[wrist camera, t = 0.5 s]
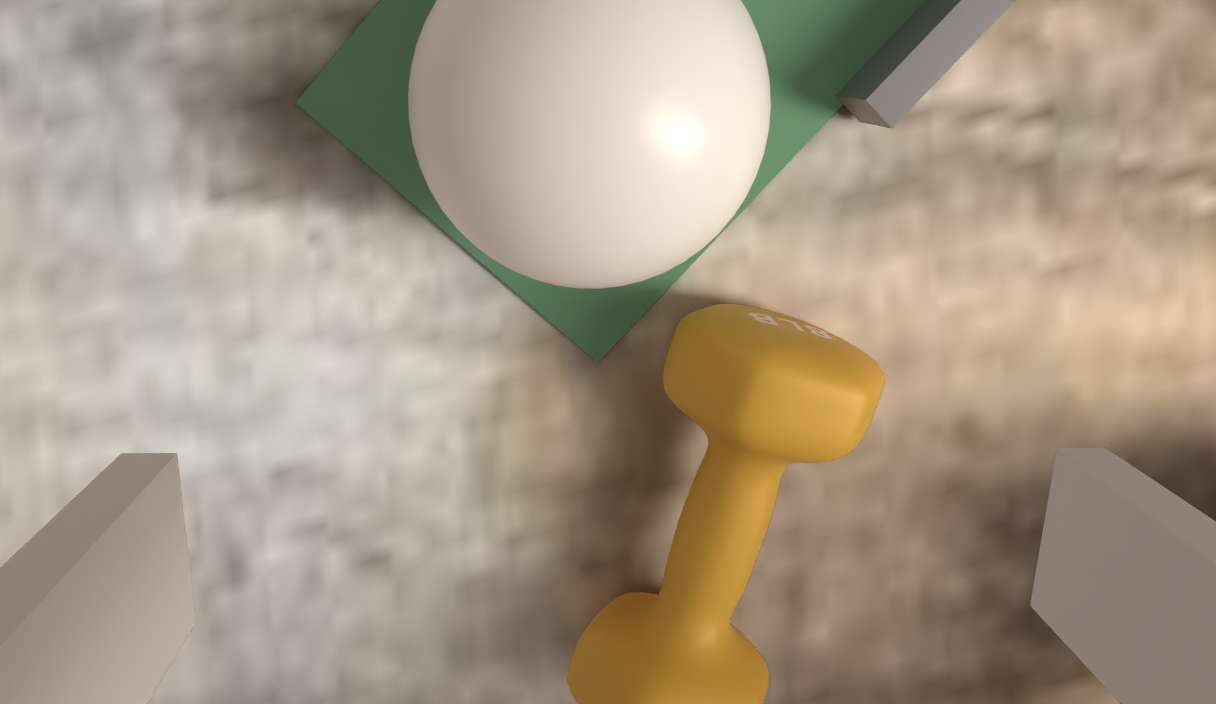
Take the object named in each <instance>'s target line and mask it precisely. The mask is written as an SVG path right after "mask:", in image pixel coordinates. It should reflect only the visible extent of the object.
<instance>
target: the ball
mask: <svg viewBox="0 0 1216 704" xmlns="http://www.w3.org/2000/svg"><path fill="white" fill-rule="evenodd" d="M408 107H409V123H410V129H411V136H412V142H413V146H414V149H415V153H416V156H417V160H418V163H419V166H420V169H421V171H422V173H423V176H424V178H425V180H426V183H427V185H428V187H429V189H430V191H431V193H432V194H433V196H434V198H435V199H436V201H437V203H438V204H439V206H440V208H441V209H442V211H443V212H444V213H445V214H446V216H447V217H448V218H449V219H450V221H451V222H452V223H453V225H454V226H455V227H456V228H457V229H458V230H459V231H460V232H461V233H462V234H463V235H464V236H465V237H466V238H467V239H468V240H469V241H470V242H471V243H472V244H473V245H474V246H476V247H477V248H478V249H480V250H481V251H482V252H484V253H485V254H486V255H488V256H489V257H490V258H492V259H493V260H495V261H497V262H499V263H500V264H502V265H504V266H506V267H507V268H509V269H511V270H513V271H515V272H517V273H520V274H522V275H525V276H527V277H529V278H532V279H534V280H538V281H542V282H545V283H549V284H553V285H557V286H564V287H571V288H590V289H601V288H609V287H618V286H624V285H628V284H632V283H636V282H640V281H644V280H647V279H649V278H652V277H654V276H657V275H659V274H662V273H664V272H666V271H668V270H670V269H672V268H674V267H676V266H677V265H679V264H681V263H683V262H685V261H686V260H687V259H689V258H690V257H692V256H693V255H694V254H696V253H697V252H698V251H700V250H701V249H703V248H704V247H705V246H706V245H707V244H708V243H709V242H710V241H711V240H712V239H713V238H714V237H716V236H717V235H718V234H719V233H720V232H721V230H722V229H723V228H724V227H725V226H726V224H727V223H728V222H729V221H730V220H731V218H732V217H733V216H734V215H735V213H736V212H737V210H738V208H739V207H740V205H741V204H742V202H743V201H744V199H745V198H746V196H747V194H748V192H749V190H750V188H751V186H752V184H753V182H754V180H755V178H756V175H757V173H758V170H759V167H760V164H761V161H762V158H763V155H764V151H765V147H766V142H767V137H768V132H769V123H770V111H771V98H770V80H769V74H768V68H767V63H766V57H765V54H764V51H763V48H762V44H761V41H760V38H759V35H758V32H757V30H756V28H755V26H754V24H753V21H752V19H751V17H750V15H749V12H748V11H747V9H746V8H745V6H744V4H743V3H742V1H741V0H436V2H435V4H434V6H433V8H432V10H431V11H430V13H429V15H428V17H427V19H426V21H425V23H424V26H423V28H422V31H421V34H420V36H419V39H418V42H417V44H416V48H415V53H414V57H413V61H412V65H411V70H410V80H409V90H408Z"/></svg>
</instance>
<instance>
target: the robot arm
mask: <svg viewBox="0 0 1216 704" xmlns="http://www.w3.org/2000/svg"><path fill="white" fill-rule="evenodd" d="M1030 606H1031V607H1032V608H1033V609H1034V610H1035V611H1036V613H1037V614H1038V615H1039V616H1040V617H1041V618H1042V619H1043V620H1044V621H1045V622H1046V623H1047V624H1048V626H1049V627H1050V628H1051V629H1052V630H1053V631H1054V632H1055V633H1056V634H1057V635H1058V636H1059V637H1060V639H1061V640H1062V641H1063V642H1064V643H1065V644H1066V645H1067V646H1068V647H1069V648H1070V649H1071V650H1072V652H1073V653H1074V654H1075V655H1076V656H1077V657H1078V658H1079V659H1080V660H1081V661H1082V662H1083V663H1084V665H1085V666H1086V667H1087V668H1088V669H1089V670H1090V671H1091V672H1092V673H1093V674H1094V675H1095V676H1096V678H1097V679H1098V680H1099V681H1100V682H1101V683H1102V684H1103V685H1104V686H1105V687H1106V688H1107V689H1108V691H1109V692H1110V693H1111V694H1112V695H1113V696H1114V697H1115V698H1116V699H1117V700H1118V701H1119V702H1120V704H1216V521H1214V520H1213V519H1211V518H1210V517H1208V516H1207V515H1205V514H1204V513H1202V512H1201V511H1199V510H1198V509H1196V508H1195V507H1193V506H1192V505H1190V504H1189V503H1187V502H1186V501H1184V500H1183V499H1181V498H1180V497H1178V496H1177V495H1175V494H1174V493H1172V492H1171V491H1169V490H1168V489H1166V488H1165V487H1163V486H1162V485H1160V484H1159V483H1157V482H1156V481H1154V480H1153V479H1151V478H1150V477H1148V476H1147V475H1145V474H1144V473H1142V472H1141V471H1139V470H1138V469H1136V468H1135V467H1133V466H1132V465H1130V464H1129V463H1127V462H1126V461H1124V460H1123V459H1121V458H1120V457H1118V456H1117V455H1115V454H1114V453H1112V452H1111V451H1109V450H1108V449H1106V448H1105V447H1078V448H1057V451H1056V457H1055V463H1054V469H1053V474H1052V480H1051V486H1050V492H1049V498H1048V504H1047V509H1046V515H1045V521H1044V527H1043V533H1042V539H1041V544H1040V550H1039V556H1038V562H1037V568H1036V573H1035V579H1034V585H1033V591H1032V597H1031V603H1030ZM195 623H196V618H195V609H194V600H193V592H192V583H191V574H190V565H189V556H188V547H187V538H186V529H185V521H184V512H183V503H182V494H181V485H180V476H179V467H178V458H177V453H145V454H120V455H119V456H118V457H117V458H116V459H115V460H114V461H113V462H112V463H111V464H110V465H109V466H108V467H107V468H106V469H105V470H104V471H102V472H101V473H100V474H99V475H98V476H97V477H96V478H95V479H94V480H93V481H92V482H91V483H90V484H89V485H88V486H87V487H85V488H84V489H83V490H82V491H81V492H80V493H79V494H78V495H77V496H76V497H75V498H74V499H73V500H72V501H71V502H70V503H69V504H67V505H66V506H65V507H64V508H63V509H62V510H61V511H60V512H59V513H58V514H57V515H56V516H55V517H54V518H53V519H52V520H51V521H49V522H48V523H47V524H46V525H45V526H44V527H43V528H42V529H41V530H40V531H39V532H38V533H37V534H36V535H35V536H34V537H33V538H31V539H30V540H29V541H28V542H27V543H26V544H25V545H24V546H23V547H22V548H21V549H20V550H19V551H18V552H17V553H16V554H15V555H13V556H12V557H11V558H10V559H9V560H8V561H7V562H6V563H5V564H4V565H3V566H2V567H1V568H0V704H147V703H148V701H149V699H150V698H151V696H152V694H153V693H154V691H155V689H156V688H157V686H158V684H159V683H160V681H161V679H162V678H163V676H164V674H165V673H166V671H167V669H168V668H169V666H170V665H171V663H172V661H173V660H174V658H175V656H176V655H177V653H178V651H179V650H180V648H181V646H182V645H183V643H184V641H185V640H186V638H187V636H188V635H189V633H190V631H191V630H192V628H193V626H194V625H195Z"/></svg>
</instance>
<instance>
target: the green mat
mask: <svg viewBox="0 0 1216 704" xmlns="http://www.w3.org/2000/svg"><path fill="white" fill-rule="evenodd" d="M741 1H742V3H743V4H744V6H745V8H746V9H747V11H748V12H749V15H750V17H751V19H752V21H753V24H754V26H755V28H756V30H757V32H758V35H759V38H760V41H761V44H762V48H763V51H764V54H765V57H766V63H767V68H768V74H769V80H770V98H771V111H770V123H769V132H768V137H767V142H766V147H765V151H764V155H763V158H762V161H761V164H760V167H759V170H758V173H757V175H756V178H755V180H754V182H753V184H752V186H751V188H750V190H749V192H748V194H747V196H746V198H745V199H744V201H743V202H742V204H741V205H740V207H739V208H738V210H737V212H736V213H735V215H734V216H733V217H732V218H731V220H730V221H729V222H728V223H727V224H726V226H725V227H724V228H723V229H722V230H721V232H720V233H719V234H718V235H717V236H716V237H714V238H713V239H712V240H711V241H710V242H709V243H708V244H707V245H706V246H705V247H704V248H703V249H701V250H700V251H698V252H697V253H696V254H694V255H693V256H692V257H690V258H689V259H687V260H686V261H685V262H683V263H681V264H679V265H677V266H676V267H674V268H672V269H670V270H668V271H666V272H664V273H662V274H659V275H657V276H654V277H652V278H649V279H647V280H644V281H640V282H636V283H632V284H628V285H624V286H618V287H609V288H601V289H590V288H571V287H564V286H557V285H553V284H549V283H545V282H542V281H538V280H534V279H532V278H529V277H527V276H525V275H522V274H520V273H517V272H515V271H513V270H511V269H509V268H507V267H506V266H504V265H502V264H500V263H499V262H497V261H495V260H493V259H492V258H490V257H489V256H488V255H486V254H485V253H484V252H482V251H481V250H480V249H478V248H477V247H476V246H474V245H473V244H472V243H471V242H470V241H469V240H468V239H467V238H466V237H465V236H464V235H463V234H462V233H461V232H460V231H459V230H458V229H457V228H456V227H455V226H454V225H453V223H452V222H451V221H450V219H449V218H448V217H447V216H446V214H445V213H444V212H443V211H442V209H441V208H440V206H439V204H438V203H437V201H436V199H435V198H434V196H433V194H432V193H431V191H430V189H429V187H428V185H427V183H426V180H425V178H424V176H423V173H422V171H421V169H420V166H419V163H418V160H417V156H416V153H415V149H414V146H413V142H412V136H411V129H410V123H409V107H408V90H409V80H410V70H411V65H412V61H413V57H414V53H415V48H416V44H417V42H418V39H419V36H420V34H421V31H422V28H423V26H424V23H425V21H426V19H427V17H428V15H429V13H430V11H431V10H432V8H433V6H434V4H435V2H436V0H380V1H379V2H378V4H377V5H376V6H375V7H374V9H373V10H372V11H371V12H370V13H369V15H368V16H367V17H366V18H365V19H364V21H363V22H362V23H361V24H360V25H359V27H358V28H357V29H356V30H355V31H354V33H353V34H352V35H351V36H350V37H349V39H348V40H347V41H346V42H345V43H344V45H343V46H342V47H341V48H340V49H339V51H338V52H337V53H336V54H335V55H334V57H333V58H332V59H331V60H330V61H329V63H328V64H327V65H326V66H325V68H324V69H323V70H322V71H321V72H320V74H319V75H318V76H317V77H316V78H315V80H314V81H313V82H312V83H311V84H310V86H309V87H308V88H307V89H306V90H305V92H304V93H303V94H302V95H301V96H300V98H299V99H298V100H297V101H296V102H295V103H296V104H297V105H298V106H300V107H301V108H302V109H303V110H304V111H305V112H307V113H308V114H309V115H310V116H311V117H312V118H313V119H315V120H316V121H317V122H318V123H319V124H320V125H322V126H323V127H324V128H325V129H326V130H327V131H329V132H330V133H331V134H332V135H333V136H334V137H336V138H337V139H338V140H339V141H340V142H341V143H343V144H344V145H345V146H346V147H347V148H348V149H349V150H351V151H352V152H353V153H354V154H355V155H356V156H358V157H359V158H360V159H361V160H362V161H363V162H365V163H366V164H367V165H368V166H369V167H370V168H372V169H373V170H374V171H375V172H376V173H377V174H379V175H380V176H381V177H382V178H383V179H384V180H385V181H387V182H388V183H389V184H390V185H391V186H392V187H394V188H395V189H396V190H397V191H398V192H399V193H401V194H402V195H403V196H404V197H405V198H406V199H408V200H409V201H410V202H411V203H412V204H413V205H415V206H416V207H417V208H418V209H419V210H420V211H421V212H423V213H424V214H425V215H426V216H427V217H428V218H430V219H431V220H432V221H433V222H434V223H435V224H437V225H438V226H439V227H440V228H441V229H442V230H444V231H445V232H446V233H447V234H448V235H449V236H451V237H452V238H453V239H454V240H455V241H456V242H457V243H459V244H460V245H461V246H462V247H463V248H464V249H466V250H467V251H468V252H469V253H470V254H471V255H473V256H474V257H475V258H476V259H477V260H478V261H480V262H481V263H482V264H483V265H484V266H485V267H487V268H488V269H489V270H490V271H491V272H492V273H493V274H495V275H496V276H497V277H498V278H499V279H500V280H502V281H503V282H504V283H505V284H506V285H507V286H509V287H510V288H511V289H512V290H513V291H514V292H516V293H517V294H518V295H519V296H520V297H521V298H523V299H524V300H525V301H526V302H527V303H528V304H529V305H531V306H532V307H533V308H534V309H535V310H536V311H538V312H539V313H540V314H541V315H542V316H543V317H545V318H546V319H547V320H548V321H549V322H550V323H552V324H553V325H554V326H555V327H556V328H557V329H559V330H560V331H561V332H562V333H563V334H564V335H565V336H567V337H568V338H569V339H570V340H571V341H572V342H574V343H575V344H576V345H577V346H578V347H579V348H581V349H582V350H583V351H584V352H585V353H586V354H588V355H589V356H590V357H591V358H592V359H593V360H595V361H596V362H597V363H598V362H599V361H600V360H601V359H602V358H603V357H604V356H605V355H606V354H607V353H608V352H609V350H610V349H611V348H612V347H613V346H614V345H615V344H616V343H617V342H618V341H619V340H620V339H621V338H622V337H623V336H624V335H625V334H626V333H627V332H628V331H629V329H630V328H631V327H632V326H633V325H634V324H635V323H636V322H637V321H638V320H639V319H640V318H641V317H642V316H643V315H644V314H645V313H646V312H647V311H648V310H649V308H650V307H651V306H652V305H653V304H654V303H655V302H656V301H657V300H658V299H659V298H660V297H661V296H662V295H663V294H664V293H665V292H666V291H667V290H668V289H669V287H670V286H671V285H672V284H673V283H674V282H675V281H676V280H677V279H678V278H679V277H680V276H681V275H682V274H683V273H684V272H685V271H686V270H687V269H688V267H689V266H690V265H691V264H692V263H693V262H694V261H695V260H696V259H697V258H698V257H699V256H700V255H701V254H702V253H703V252H704V251H705V250H706V249H707V248H708V246H709V245H710V244H711V243H712V242H713V241H714V240H715V239H716V238H717V237H718V236H719V235H720V234H721V233H722V232H723V231H724V230H725V229H726V228H727V227H728V225H729V224H730V223H731V222H732V221H733V220H734V219H735V218H736V217H737V216H738V215H739V214H740V213H741V212H742V211H743V210H744V209H745V208H746V207H747V206H748V204H749V203H750V202H751V201H752V200H753V199H754V198H755V197H756V196H757V195H758V194H759V193H760V192H761V191H762V190H763V189H764V188H765V187H766V186H767V185H768V183H769V182H770V181H771V180H772V179H773V178H774V177H775V176H776V175H777V174H778V173H779V172H780V171H781V170H782V169H783V168H784V167H785V166H786V165H787V163H788V162H789V161H790V160H791V159H792V158H793V157H794V156H795V155H796V154H797V153H798V152H799V151H800V150H801V149H802V148H803V147H804V146H805V145H806V144H807V142H808V141H809V140H810V139H811V138H812V137H813V136H814V135H815V134H816V133H817V132H818V131H819V130H820V129H821V128H822V127H823V126H824V125H825V124H826V123H827V121H828V120H829V119H830V118H831V117H832V116H833V115H834V114H835V113H836V112H837V111H838V110H839V109H840V108H841V107H842V106H843V103H842V102H841V101H840V100H839V99H838V98H837V97H836V95H837V94H838V93H839V92H840V91H841V90H842V88H843V87H844V86H845V85H846V84H847V83H848V82H849V81H850V80H851V79H852V78H853V77H854V76H855V75H856V74H857V73H858V72H859V71H860V70H861V68H862V67H863V66H864V65H865V64H866V63H867V62H868V61H869V60H870V59H871V58H872V57H873V56H874V55H875V54H876V53H877V52H878V51H879V49H880V48H881V47H882V46H883V45H884V44H885V43H886V42H887V41H888V40H889V39H890V38H891V37H892V36H893V35H894V34H895V33H896V32H897V30H898V29H899V28H900V27H901V26H902V25H903V24H904V23H905V22H906V21H907V20H908V19H909V18H910V17H911V16H912V15H913V14H914V13H915V12H916V10H917V9H918V8H919V7H920V6H921V5H922V4H923V3H924V2H925V1H926V0H741Z"/></svg>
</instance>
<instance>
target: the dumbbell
mask: <svg viewBox="0 0 1216 704" xmlns="http://www.w3.org/2000/svg"><path fill="white" fill-rule="evenodd" d="M663 384H664V389H665V391H666V394H667V396H668V397H669V398H670V399H671V401H672V402H673V403H674V404H675V405H676V406H677V407H678V408H679V409H680V410H681V411H683V412H684V413H685V414H686V415H687V416H689V417H690V418H691V419H692V420H693V421H695V422H696V423H697V424H698V425H699V426H700V427H701V428H702V429H703V430H704V431H705V433H706V435H707V437H708V441H709V444H708V449H707V452H706V454H705V457H704V459H703V461H702V463H701V465H700V467H699V469H698V471H697V474H696V476H695V478H694V481H693V483H692V486H691V489H690V491H689V494H688V497H687V499H686V502H685V505H684V507H683V510H682V513H681V516H680V519H679V521H678V525H677V528H676V531H675V534H674V538H673V541H672V545H671V548H670V552H669V555H668V559H667V563H666V567H665V572H664V577H663V582H662V586H661V590H660V593H659V595H658V594H652V593H645V592H629V593H625V594H623V595H621V596H619V597H617V598H615V599H614V600H613V601H611V602H610V603H609V604H608V605H607V606H605V607H604V608H603V609H602V610H601V611H600V612H599V613H598V614H597V615H596V616H595V617H594V619H593V620H592V621H591V622H590V623H589V625H588V626H587V627H586V628H585V630H584V631H583V633H582V635H581V637H580V638H579V640H578V643H577V645H576V648H575V651H574V654H573V657H572V661H571V664H570V667H569V671H568V679H567V681H568V685H569V688H570V691H571V693H572V695H573V696H574V698H575V700H576V701H577V702H578V704H763V703H764V700H765V697H766V694H767V691H768V686H769V680H770V677H769V669H768V666H767V664H766V663H765V661H764V659H763V657H762V656H761V654H760V653H759V652H758V650H757V649H756V648H755V647H754V646H753V645H752V644H751V642H750V641H749V640H748V639H747V638H746V637H745V636H744V635H743V634H742V633H741V632H740V631H739V630H738V629H737V628H735V627H734V626H733V625H732V624H731V623H730V619H731V616H732V614H733V611H734V609H735V608H736V606H737V604H738V602H739V600H740V598H741V596H742V594H743V592H744V590H745V587H746V585H747V582H748V580H749V577H750V575H751V572H752V569H753V567H754V564H755V561H756V559H757V556H758V553H759V551H760V548H761V545H762V542H763V539H764V537H765V534H766V531H767V528H768V525H769V522H770V519H771V516H772V513H773V509H774V506H775V501H776V496H777V492H778V487H779V483H780V480H781V477H782V475H783V472H784V470H785V469H786V468H787V467H788V466H789V465H790V464H792V463H795V462H802V463H820V462H826V461H831V460H835V459H837V458H840V457H842V456H844V455H846V454H848V453H849V452H851V451H852V450H853V449H854V448H855V446H856V445H857V444H858V443H859V442H860V441H861V439H862V437H863V436H864V434H865V432H866V431H867V429H868V427H869V425H870V422H871V420H872V418H873V415H874V413H875V410H876V408H877V405H878V402H879V400H880V397H881V394H882V392H883V388H884V384H885V378H884V373H883V371H882V369H881V367H880V366H879V365H878V363H877V362H876V361H875V360H873V359H872V358H871V357H870V356H869V355H867V354H866V353H864V352H863V351H862V350H860V349H859V348H857V347H855V346H853V345H852V344H850V343H848V342H846V341H845V340H843V339H841V338H839V337H837V336H835V335H833V334H831V333H829V332H827V331H825V330H823V329H821V328H819V327H817V326H814V325H812V324H810V323H807V322H805V321H802V320H799V319H796V318H793V317H790V316H787V315H783V314H780V313H776V312H772V311H768V310H763V309H759V308H754V307H750V306H744V305H738V304H715V305H711V306H708V307H705V308H702V309H699V310H696V311H694V312H692V313H690V314H688V315H687V316H685V317H684V318H683V319H682V320H681V321H680V322H679V323H678V325H677V327H676V329H675V332H674V335H673V338H672V341H671V344H670V347H669V350H668V354H667V357H666V361H665V365H664V372H663Z"/></svg>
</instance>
